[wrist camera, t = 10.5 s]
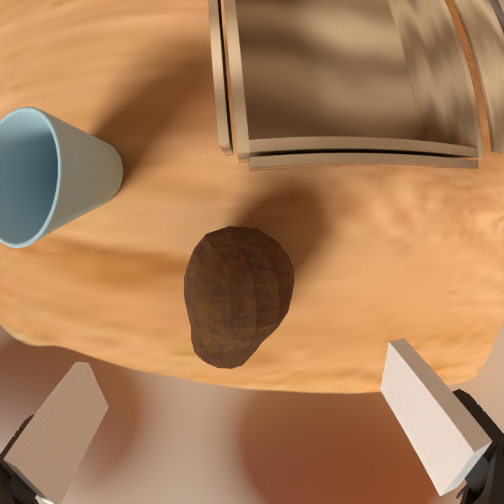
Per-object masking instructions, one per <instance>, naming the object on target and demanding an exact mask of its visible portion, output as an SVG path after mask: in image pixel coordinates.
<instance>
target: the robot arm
mask: <svg viewBox="0 0 504 504" xmlns="http://www.w3.org/2000/svg"><path fill="white" fill-rule="evenodd" d="M380 390H381V392H382V394H383V395H384V397H385V398H386V400H387V402H388V404H389V405H390V407H391V409H392V410H393V412H394V414H395V415H396V417H397V419H398V421H399V422H400V424H401V426H402V428H403V429H404V431H405V433H406V435H407V436H408V438H409V440H410V442H411V443H412V445H413V447H414V449H415V451H416V452H417V454H418V456H419V458H420V460H421V461H422V463H423V465H424V466H425V469H426V471H427V472H428V474H429V476H430V478H431V480H432V482H433V484H434V485H435V487H436V489H437V491H438V493H439V495H440V496H441V495H443V494H445V493H447V492H449V491H451V490H453V489H455V488H456V487H458V486H459V484H460V483H461V482H462V481H463V480H464V479H465V480H466V482H467V484H466V485H465V487H464V488H463V489H462V490H461V491H460V492H459V493H458V495H457V497H456V498H459V497H460V496H461V495H462V494H463V496H462V499H461V503H460V504H504V433H502V431H501V430H500V429H499V428H498V427H497V425H496V424H495V423H494V422H493V421H492V419H491V418H490V417H489V416H488V415H487V414H486V412H485V411H483V409H482V408H481V407H480V406H479V405H477V403H476V401H475V400H474V399H473V398H472V397H471V396H470V395H469V394H468V393H466V392H464V391H462V390H460V389H458V390H456V391H453V392H452V391H451V390H450V389H449V388H448V387H447V386H446V384H445V383H444V382H443V381H442V380H441V379H440V378H439V376H438V375H437V374H436V373H435V372H434V371H433V370H432V369H431V367H430V366H429V365H428V364H427V363H426V362H425V361H424V360H423V359H422V357H421V356H420V355H419V354H418V353H417V352H416V351H415V350H414V349H413V348H412V346H411V345H410V344H409V343H408V342H407V341H406V340H405V339H404V338H403V339H399V340H394V341H390V342H389V344H388V351H387V357H386V362H385V368H384V373H383V378H382V383H381V388H380ZM107 409H108V405H107V403H106V401H105V398H104V397H103V394H102V392H101V390H100V388H99V386H98V383H97V381H96V379H95V377H94V374H93V372H92V370H91V367H90V365H89V363H83V362H76V363H75V364H74V365H73V366H72V368H71V369H70V370H69V371H68V373H67V374H66V375H65V376H64V378H63V379H62V380H61V381H60V383H59V384H58V385H57V386H56V388H55V389H54V390H53V391H52V393H51V394H50V395H49V397H48V398H47V399H46V401H45V402H44V403H43V404H42V406H41V407H40V409H39V410H38V411H37V413H36V414H35V415H32V416H30V417H29V418H28V419H26V420H25V421H24V422H23V424H22V425H21V426H20V428H19V430H18V431H17V432H16V433H15V436H13V437H12V439H11V440H10V442H9V443H8V444H7V446H6V447H5V449H4V450H3V452H2V453H1V454H0V504H39V503H38V501H37V500H36V499H35V497H36V495H38V496H39V497H40V498H41V499H42V500H44V501H45V502H46V503H49V504H61V503H62V501H63V499H64V497H65V494H66V492H67V490H68V488H69V486H70V483H71V481H72V479H73V477H74V475H75V473H76V471H77V468H78V467H79V465H80V462H81V460H82V458H83V456H84V454H85V452H86V450H87V448H88V446H89V444H90V442H91V440H92V438H93V436H94V434H95V432H96V430H97V428H98V426H99V425H100V423H101V421H102V418H103V417H104V415H105V413H106V411H107Z"/></svg>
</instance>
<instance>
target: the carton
mask: <svg viewBox="0 0 504 504" xmlns="http://www.w3.org/2000/svg"><path fill="white" fill-rule="evenodd" d="M208 2H209V21H210V37H211V53H212V67H213V81H214V94H215V107H216V119H217V131H218V142H219V146H220V148H221V149H222V151H223V152H224V153H225V155H226V156H228V155H233V144H232V133H231V122H230V111H229V99H228V88H227V76H226V64H225V52H224V40H223V27H222V14H221V1H220V0H208ZM224 8H225V20H226V32H227V43H228V55H229V66H230V78H231V89H232V100H233V111H234V123H235V134H236V144H237V154H238V158H239V163H247V162H249V164H248V166H249V171H259V170H272V169H287V168H306V167H332V166H403V167H428V168H474V169H478V161H473V160H465V159H456V158H484V156H483V145H482V136H481V128H480V121H479V114H478V108H477V103H476V98H475V93H474V88H473V84H472V79H471V75H470V71H469V67H468V64H467V60H466V57H465V53H464V50H463V47H462V44H461V41H460V38H459V35H458V32H457V29H456V27H455V24H454V21H453V19H452V16H451V14H450V11H449V9H448V7H447V4H446V2H445V0H224Z"/></svg>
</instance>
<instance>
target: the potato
mask: <svg viewBox="0 0 504 504" xmlns="http://www.w3.org/2000/svg"><path fill="white" fill-rule="evenodd" d="M293 285H294V271H293V267H292V264H291V262H290V260H289V257H288V255H287V254H286V252H285V251H284V250H283V249H282V247H281V246H280V245H279V243H278V242H277V241H276V240H274V239H272V238H271V237H269V236H268V235H266V234H264V233H263V232H261V231H260V230H258V229H256V228H244V227H226V228H223V229H220V230H217V231H214V232H211V233H208V234H206V235H205V236H204V237H203V239H202V240H201V241H200V242H199V243H198V245H197V246H196V247H195V249H194V251H193V253H192V255H191V258H190V261H189V263H188V267H187V270H186V273H185V277H184V297H185V303H186V308H187V312H188V316H189V320H190V324H191V340H192V344H193V348H194V352H195V353H196V354H197V355H198V356H199V357H200V358H201V359H202V360H203V361H204V362H206V363H208V364H210V365H213V366H215V367H217V368H228V369H232V368H235V367H238V366H241V365H243V364H244V363H245V362H246V361H247V360H248V359H249V358H250V357H251V355H252V354H253V353H254V352H255V351H256V350H257V348H258V347H259V345H260V344H261V343H262V342H263V341H264V340H265V339H266V338H267V337H268V336H270V335H271V334H272V333H273V332H274V331H275V329H276V328H277V327H278V326H279V325H280V323H281V322H282V320H283V319H284V317H285V316H286V314H287V313H288V310H289V305H290V301H291V297H292V292H293Z"/></svg>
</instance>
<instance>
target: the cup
mask: <svg viewBox="0 0 504 504" xmlns="http://www.w3.org/2000/svg"><path fill="white" fill-rule="evenodd" d="M122 178H123V164H122V159H121V157H120V155H119V153H118V152H117V150H116V149H115V148H114V147H113V146H112V145H110V144H108V143H106V142H104V141H102V140H100V139H98V138H96V137H94V136H92V135H90V134H88V133H86V132H84V131H82V130H80V129H78V128H76V127H74V126H72V125H70V124H67V123H65V122H63V121H61V120H60V119H58V118H56V117H54V116H52V115H50V114H48V113H46V112H44V111H42V110H39V109H37V108H34V107H21V108H18V109H15V110H13V111H12V112H10V113H9V114H7V115H6V116H5V117H4V118H3V119H2V120H1V121H0V242H2V243H3V244H5V245H7V246H10V247H13V248H21V247H25V246H28V245H30V244H32V243H34V242H35V241H37V240H39V239H41V238H42V237H44V236H46V235H47V234H49V233H51V232H52V231H54V230H56V229H58V228H59V227H61V226H63V225H65V224H67V223H69V222H71V221H72V220H74V219H76V218H78V217H80V216H82V215H84V214H86V213H88V212H90V211H92V210H94V209H96V208H98V207H100V206H102V205H104V204H105V203H107V202H108V201H110V200H111V199H112V198H113V197H114V196H115V195H116V193H117V191H118V190H119V188H120V186H121V183H122Z"/></svg>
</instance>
